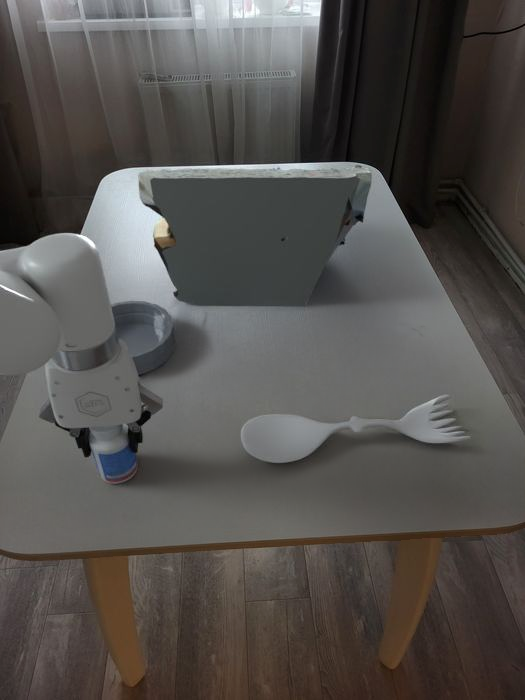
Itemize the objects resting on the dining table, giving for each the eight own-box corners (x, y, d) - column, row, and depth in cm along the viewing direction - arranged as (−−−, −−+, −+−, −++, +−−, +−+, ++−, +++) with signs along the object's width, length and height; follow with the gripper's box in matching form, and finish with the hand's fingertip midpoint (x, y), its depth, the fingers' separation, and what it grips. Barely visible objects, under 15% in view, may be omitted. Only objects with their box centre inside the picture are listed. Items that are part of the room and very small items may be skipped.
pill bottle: (146, 464, 78) (136, 416, 71) (119, 491, 74) (106, 444, 68) (117, 447, 80) (105, 400, 74) (90, 473, 76) (74, 425, 70)
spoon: (467, 452, 79) (473, 437, 77) (244, 473, 77) (243, 457, 74) (445, 406, 86) (450, 391, 84) (238, 424, 83) (238, 408, 81)
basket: (345, 227, 128) (351, 102, 110) (371, 308, 104) (383, 165, 86) (172, 240, 128) (150, 117, 110) (159, 323, 105) (127, 184, 87)
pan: (102, 391, 89) (96, 371, 86) (72, 338, 99) (66, 318, 96) (190, 357, 95) (188, 337, 92) (154, 311, 105) (151, 291, 102)
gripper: (-4, 371, 59) (41, 476, 70) (160, 358, 60) (177, 463, 72) (12, 327, 64) (51, 431, 76) (161, 316, 66) (177, 420, 78)
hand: (112, 445), depth 74 cm, fingers closed on pill bottle, 5 cm apart
